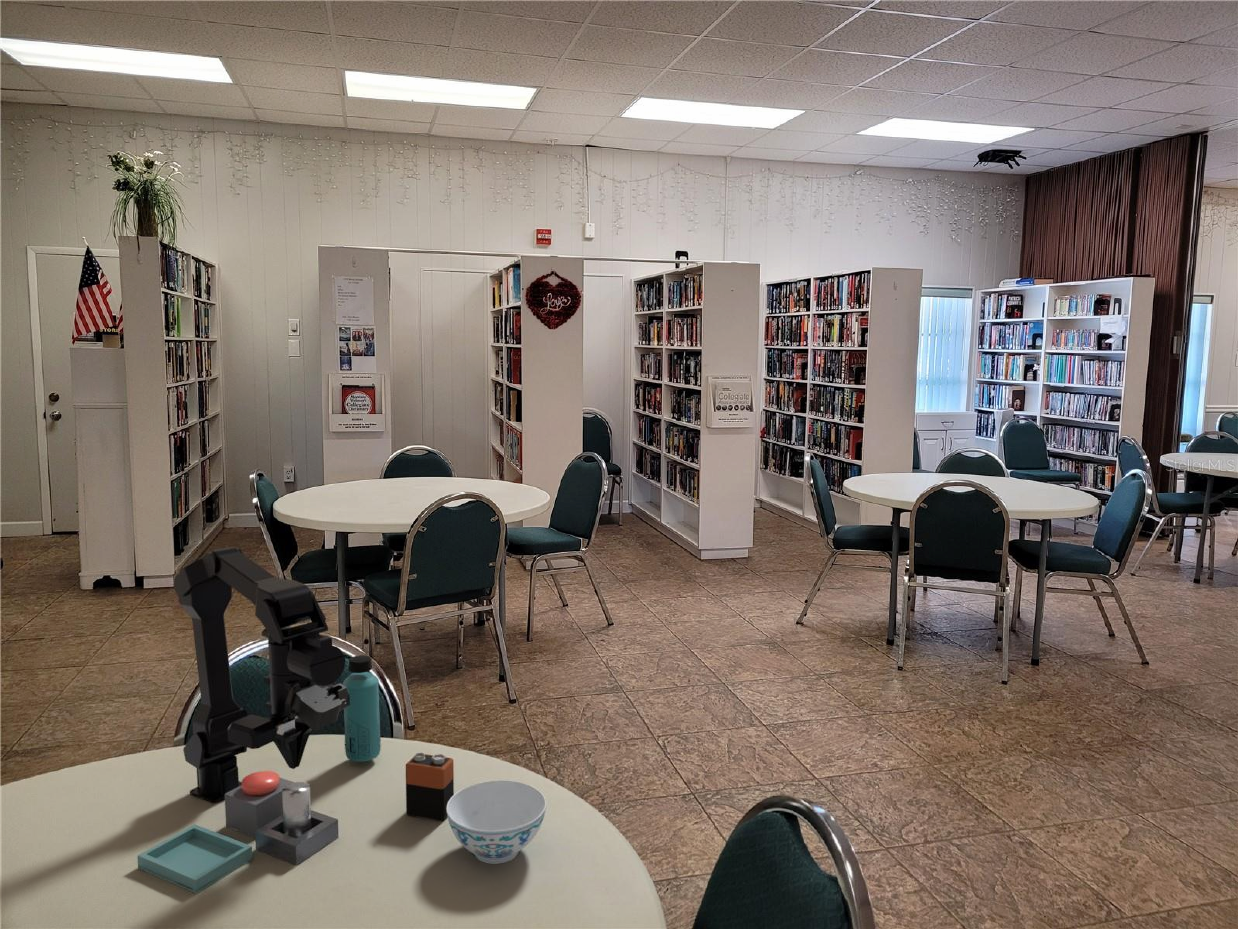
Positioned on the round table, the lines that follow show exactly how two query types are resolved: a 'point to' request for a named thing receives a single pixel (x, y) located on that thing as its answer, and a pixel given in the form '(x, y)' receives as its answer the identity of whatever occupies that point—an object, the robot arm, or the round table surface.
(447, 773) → the battery
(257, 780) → the release button
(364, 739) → the beverage bottle
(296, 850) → the socket
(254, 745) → the robot arm
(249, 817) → the block
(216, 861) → the tray
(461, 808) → the chinaware
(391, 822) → the round table surface
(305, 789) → the shiny silver cylinder
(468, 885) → the round table surface
